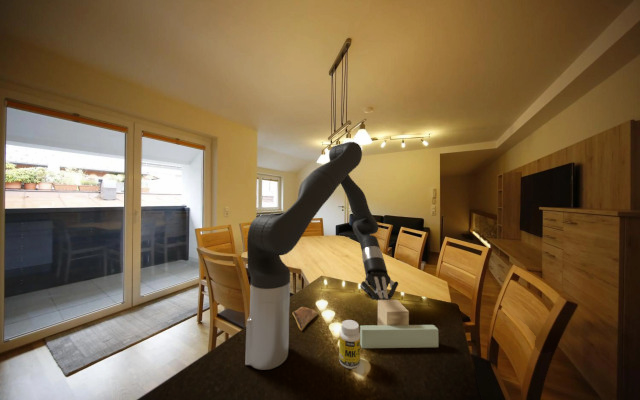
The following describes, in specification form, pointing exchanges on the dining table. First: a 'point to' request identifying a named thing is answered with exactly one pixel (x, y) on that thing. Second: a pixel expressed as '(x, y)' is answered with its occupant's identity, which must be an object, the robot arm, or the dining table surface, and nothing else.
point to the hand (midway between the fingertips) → (386, 313)
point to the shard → (304, 316)
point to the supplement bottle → (349, 344)
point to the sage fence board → (398, 336)
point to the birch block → (392, 313)
